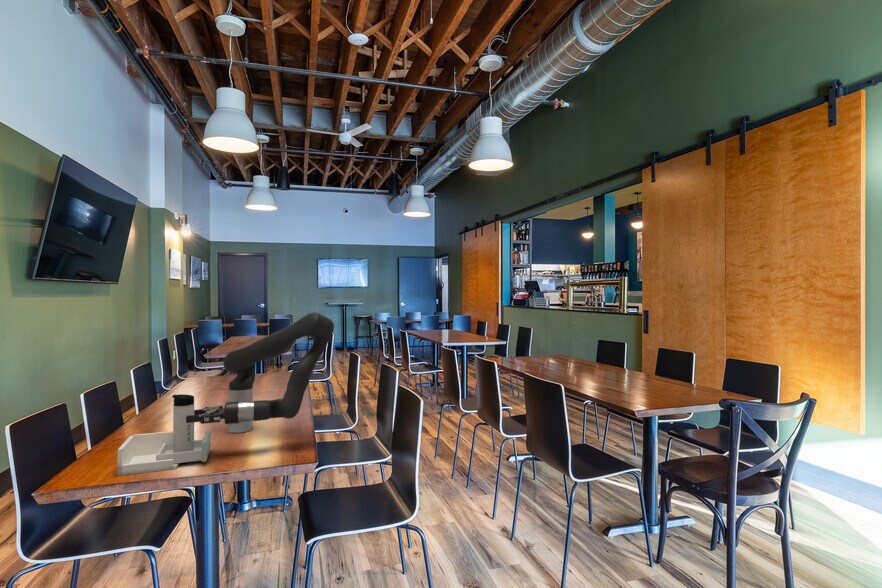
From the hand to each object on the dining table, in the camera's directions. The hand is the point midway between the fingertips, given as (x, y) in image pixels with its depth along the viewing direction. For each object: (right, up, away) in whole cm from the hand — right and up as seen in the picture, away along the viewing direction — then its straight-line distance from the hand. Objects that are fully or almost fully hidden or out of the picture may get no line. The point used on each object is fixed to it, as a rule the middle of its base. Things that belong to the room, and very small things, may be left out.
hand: (187, 416), depth 159 cm
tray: (-1, -13, -1) cm, 13 cm away
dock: (-9, -15, -4) cm, 18 cm away
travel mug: (-1, -13, -1) cm, 13 cm away
